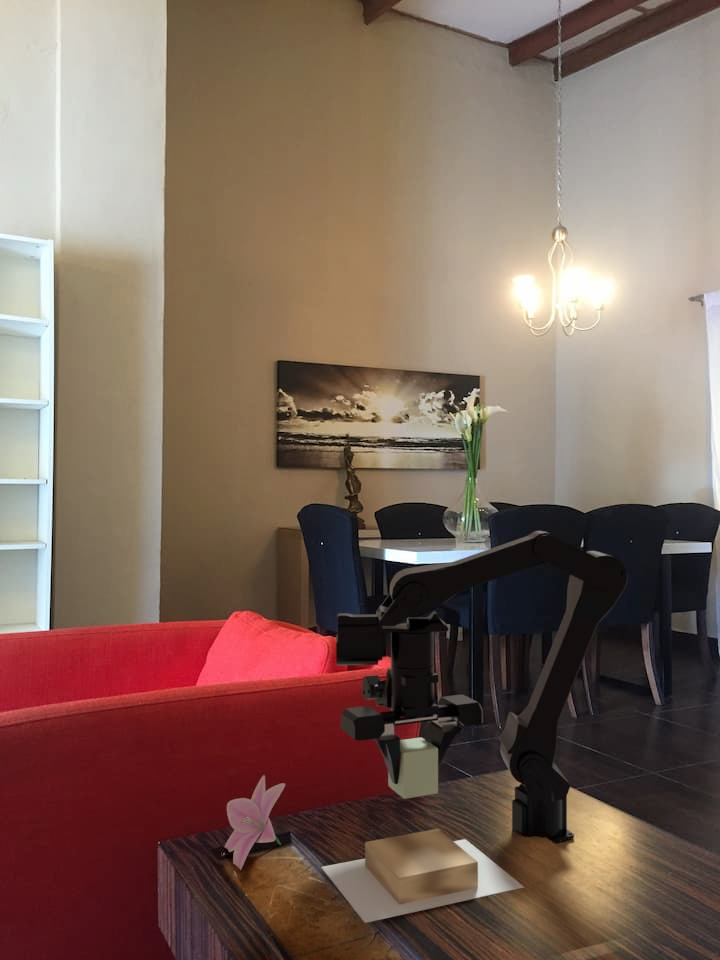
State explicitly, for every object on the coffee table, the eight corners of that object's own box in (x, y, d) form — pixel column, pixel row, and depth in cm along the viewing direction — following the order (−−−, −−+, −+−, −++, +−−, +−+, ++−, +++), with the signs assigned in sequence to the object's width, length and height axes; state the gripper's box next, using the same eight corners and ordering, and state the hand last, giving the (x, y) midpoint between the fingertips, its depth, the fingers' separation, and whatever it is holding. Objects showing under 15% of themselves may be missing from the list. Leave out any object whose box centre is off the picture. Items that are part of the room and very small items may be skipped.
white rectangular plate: (465, 845, 114) (465, 839, 114) (524, 893, 101) (524, 886, 101) (321, 873, 107) (321, 866, 107) (365, 929, 94) (365, 922, 94)
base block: (438, 852, 110) (438, 828, 110) (477, 887, 101) (477, 861, 101) (365, 866, 107) (365, 842, 107) (399, 904, 97) (399, 877, 97)
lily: (232, 840, 119) (201, 788, 115) (312, 806, 119) (283, 753, 115) (231, 909, 107) (197, 854, 104) (319, 872, 107) (287, 816, 104)
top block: (421, 780, 120) (421, 737, 120) (438, 793, 115) (438, 748, 115) (388, 785, 118) (388, 741, 118) (403, 799, 113) (403, 753, 113)
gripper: (446, 646, 127) (446, 752, 128) (326, 658, 120) (326, 770, 121) (485, 662, 117) (485, 777, 117) (356, 676, 110) (357, 799, 110)
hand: (412, 780), depth 117 cm, fingers closed on top block, 5 cm apart
